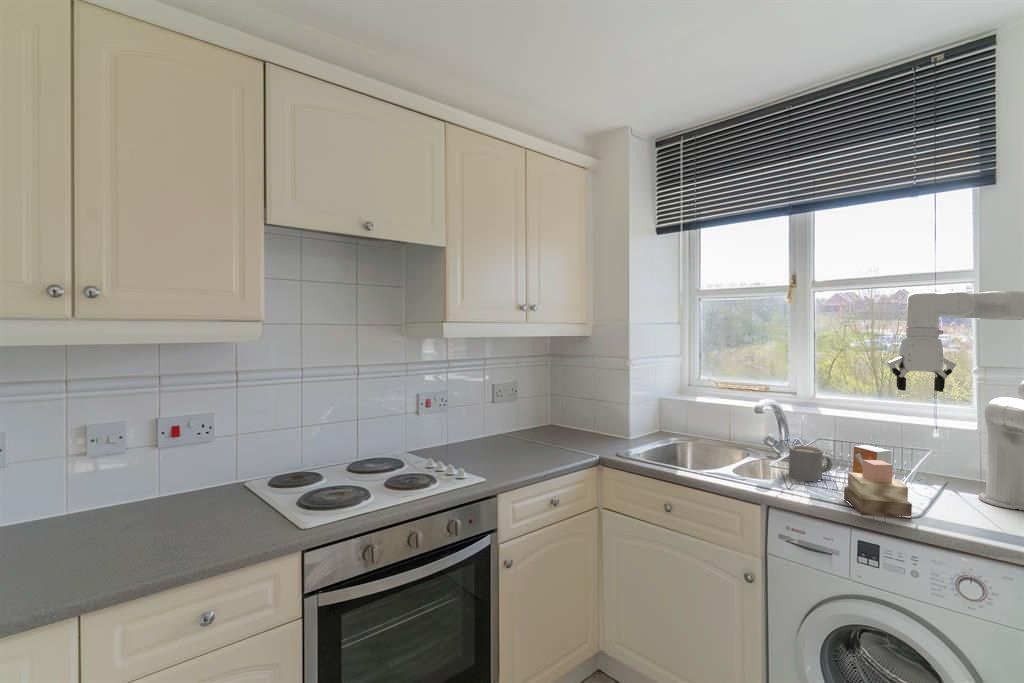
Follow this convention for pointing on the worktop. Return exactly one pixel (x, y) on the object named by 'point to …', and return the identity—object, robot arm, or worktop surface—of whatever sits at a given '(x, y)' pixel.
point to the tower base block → (877, 506)
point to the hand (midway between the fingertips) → (920, 390)
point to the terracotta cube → (877, 471)
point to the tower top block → (877, 489)
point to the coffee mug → (807, 463)
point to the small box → (869, 456)
